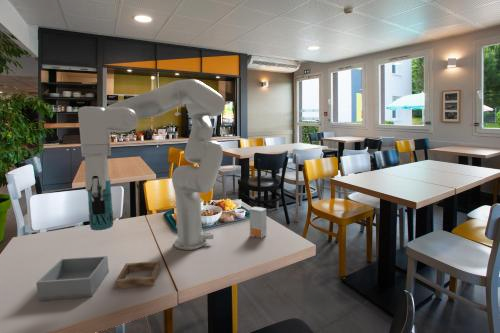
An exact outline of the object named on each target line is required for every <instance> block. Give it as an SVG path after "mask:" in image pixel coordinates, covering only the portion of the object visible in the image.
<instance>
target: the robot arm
mask: <svg viewBox="0 0 500 333" xmlns="http://www.w3.org/2000/svg"><path fill="white" fill-rule="evenodd" d="M183 105H185V106H186V107H185V108H186V110H187V112H188V116H189V117H190V119H191V130H190V133H189V137H188V139H187V142H186V146H185V148H184V154H183V156H184V159H185V160H186V161H187V162H189V163H191V164H195V165H199V166H195V165H189V164H188V165H186V164H185V165H180V166H177V167H176V168H175V169H174V171H173V172H172V175H171V182H172V187H173V190H174V195H175V209H176V226H177V227H176V228H177V238H176V239H174V242H173V244H174V247H175V248H176V249H179V250H182V251H183V250H184V251H190V250H191V251H192V250H196V249H199V248H201V247H204V246H205V245H206V244H207V240H214V234H212V233H211V232H204V228H203V227H202V226H203V224H202V222H203V221H202V201H201V200H202V199H201V195H200V194H207V193H209V192H211V190H212V189H213V187H214V186H215V184H216V180H217V178H218V175H219V170H220V168H221V165H222V161H223V157H224V156H223V155H224V154H223V153H224V151H223V147H222V145H221V144H220V143H219V142H218V141H217V140H212V137H213V134H214V127H213V124H212V121H211V119H210V117H217V116H220V115H221V114H222V113H223V112H224V111H225V107H226V102H225V99H224V97H223V95H221V93H219V92H217V91H216V90H214V89H213V88H212V87H210V86H208V85H206V84H205V83H204V82H202V81H200V80H199V79H195V78H190V79H189V78H188V79H179V80H175V81H172V82H169V83H166V84H164V85H161V86H159V87H157V88H154V89H152V90H149V91H146V92H143V93H139V94H137V95H135V96H132V97H129V98H126V99H122V100H119V101H117V102H115V103H112V104H109V105H107V106H105V107H102V106H81V107H80V108H79V109H78V112H77V115H78V125H79V126H78V127H79V135H80V136H79V137H80V138H79V139H80V149H81V156H82V157H85V158H84V182H85V183H84V184H85V191H86V192H87V193H88V192H89V191H90V190H91V186H92V211H93V215H99V214H105V200H103V190H105V189H106V180H107V177H108V178H109V167H108V166H109V165H108V156H111V155H112V151H111V150H112V149H111V138H110V136H111V135H110V133H112V132H113V133H114V132H116V133H128V132H131V131H133V130H134V129H136V127H137V126H138V124H139V120H142V119H148V118H155V117H159V116H162V115H164V114H166V113H168V112H170V111H172V110H174V109H176V108H178V107H180V106H183ZM98 187H101V190H98ZM98 192H101V195H100V193H98Z"/></svg>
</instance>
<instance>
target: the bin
mask: <svg viewBox="0 0 500 333" xmlns="http://www.w3.org/2000/svg"><path fill="white" fill-rule="evenodd" d="M108 259H109V258H108V255H101V256H88V257H87V256H86V257H71V258H69V257H68V258H61V259H60V260H59V261H58V262H57V263H56V264H55V265H53V266H52V268H50V269H49V270H48V271H47V272H46V273H45V274H43V275H42V276H41V277H40V278H39V280H38V281H36V290H37V297H38V301H39V302H44V301H46V302H47V301H57V300H69V299H82V298H84V299H85V298H92V297H93V296H94V295H95V293H96V292H97V290H98V288H100V286H101V284H102V283H103V282H104V280H105V279H106V277H107V275H108V274H109V272H110V269H109V260H108Z"/></svg>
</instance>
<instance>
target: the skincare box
mask: <svg viewBox="0 0 500 333" xmlns="http://www.w3.org/2000/svg"><path fill="white" fill-rule="evenodd" d="M250 235H252V236H251V237H254V236H257V237H256V238H258V237H261V238H260V239H263V238H265V237H266V236H267V207H266V208H265V207H262V206H261V207H260V206H252V207H251V208H249V236H250ZM265 235H266V236H265ZM264 236H265V237H264ZM262 237H263V238H262Z"/></svg>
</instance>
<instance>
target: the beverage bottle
mask: <svg viewBox="0 0 500 333" xmlns="http://www.w3.org/2000/svg"><path fill="white" fill-rule="evenodd" d="M111 180H112V179H110V178H109V176H108V177H107V180H106V189H105V190H103V200H105V214H99V215H93V211H92V186H91V190H90V191H89V192H87V200H88V201H87V202H88V203H87V205H88V223H89V228H90V230H92V231H105V230H108V229H111V228H112V227H113V226H114V210H113V200H112V198H113V197H112V187H111V186H112V185H111V182H112V181H111ZM98 190H101V187H98ZM98 193H100V195H101V192H98Z"/></svg>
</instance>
